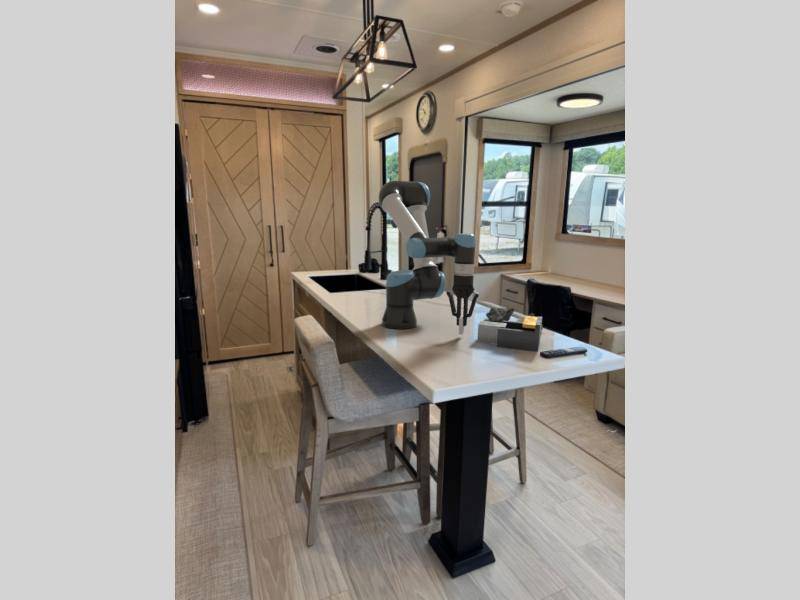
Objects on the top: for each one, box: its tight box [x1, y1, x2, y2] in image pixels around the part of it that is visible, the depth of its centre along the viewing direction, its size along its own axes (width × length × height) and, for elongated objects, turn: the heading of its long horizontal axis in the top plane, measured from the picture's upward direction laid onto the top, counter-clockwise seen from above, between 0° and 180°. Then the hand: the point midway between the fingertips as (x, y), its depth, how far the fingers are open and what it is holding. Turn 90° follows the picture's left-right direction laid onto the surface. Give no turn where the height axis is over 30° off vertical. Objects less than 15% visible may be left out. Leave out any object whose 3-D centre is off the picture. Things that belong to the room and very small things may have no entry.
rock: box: [485, 306, 515, 323], centre depth 200 cm, size 13×13×10 cm
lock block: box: [476, 320, 507, 345], centre depth 169 cm, size 10×6×7 cm, turn 71°
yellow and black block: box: [515, 312, 544, 332], centre depth 184 cm, size 10×11×10 cm
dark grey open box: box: [496, 315, 543, 353], centre depth 165 cm, size 15×13×10 cm
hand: (461, 333), depth 173 cm, fingers closed
